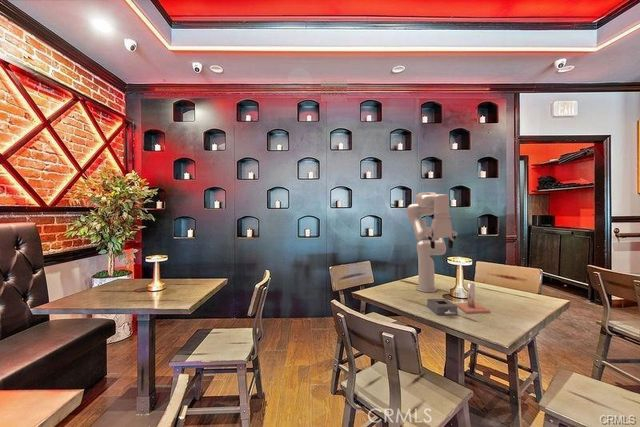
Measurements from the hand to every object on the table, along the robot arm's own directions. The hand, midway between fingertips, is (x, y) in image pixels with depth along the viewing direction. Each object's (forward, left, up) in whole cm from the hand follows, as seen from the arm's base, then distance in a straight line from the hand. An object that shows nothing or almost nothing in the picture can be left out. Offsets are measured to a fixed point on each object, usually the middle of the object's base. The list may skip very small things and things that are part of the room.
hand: (441, 248), depth 156 cm
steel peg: (+10, +11, -29) cm, 32 cm away
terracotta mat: (+10, +11, -30) cm, 33 cm away
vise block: (+13, -5, -30) cm, 33 cm away
